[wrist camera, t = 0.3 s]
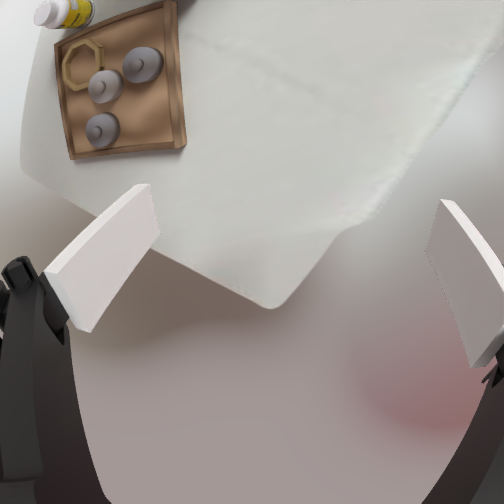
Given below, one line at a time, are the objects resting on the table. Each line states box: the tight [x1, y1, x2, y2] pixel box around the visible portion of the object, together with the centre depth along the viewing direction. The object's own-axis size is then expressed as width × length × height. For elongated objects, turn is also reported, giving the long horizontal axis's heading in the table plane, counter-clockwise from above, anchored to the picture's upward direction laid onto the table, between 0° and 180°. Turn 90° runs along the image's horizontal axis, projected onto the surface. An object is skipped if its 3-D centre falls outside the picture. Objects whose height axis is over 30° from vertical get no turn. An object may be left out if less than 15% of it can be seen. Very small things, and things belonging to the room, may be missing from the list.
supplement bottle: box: [34, 0, 95, 29], centre depth 22 cm, size 5×5×10 cm
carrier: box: [54, 0, 187, 160], centre depth 32 cm, size 22×22×5 cm
